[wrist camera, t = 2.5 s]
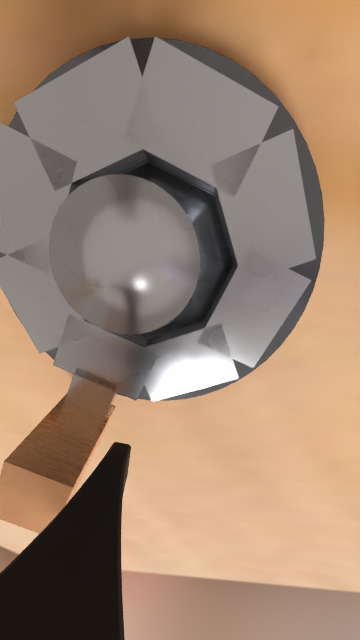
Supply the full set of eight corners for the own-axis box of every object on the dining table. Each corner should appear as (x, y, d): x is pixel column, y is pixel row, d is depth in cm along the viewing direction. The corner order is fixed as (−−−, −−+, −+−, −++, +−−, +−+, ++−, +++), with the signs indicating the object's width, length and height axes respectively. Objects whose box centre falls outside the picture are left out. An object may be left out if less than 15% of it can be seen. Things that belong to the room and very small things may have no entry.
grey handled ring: (50, 5, 6) (-154, -357, 3) (360, 179, 7) (545, 92, 3) (-24, 398, 11) (-137, 471, 7) (170, 476, 12) (160, 579, 8)
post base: (362, 181, 9) (593, 76, 4) (214, 412, 13) (229, 515, 8) (65, 16, 8) (-167, -423, 3) (2, 320, 12) (-142, 367, 7)
